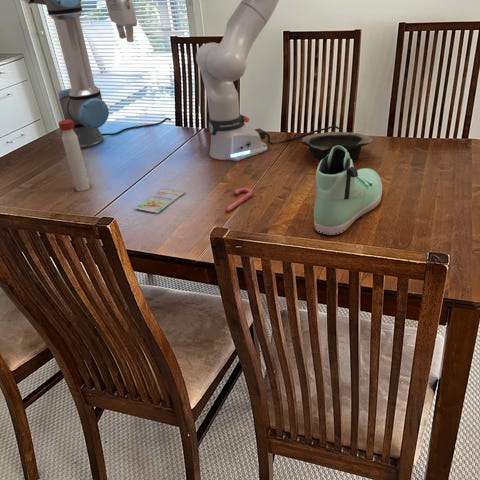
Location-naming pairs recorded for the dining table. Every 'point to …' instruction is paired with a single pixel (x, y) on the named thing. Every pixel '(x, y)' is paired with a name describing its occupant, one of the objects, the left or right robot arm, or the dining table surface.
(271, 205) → the dining table surface
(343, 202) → the sneaker
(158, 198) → the baking ingredient package
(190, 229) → the dining table surface
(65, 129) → the cap
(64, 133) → the bottle
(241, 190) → the candy cane
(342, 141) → the stone bowl
